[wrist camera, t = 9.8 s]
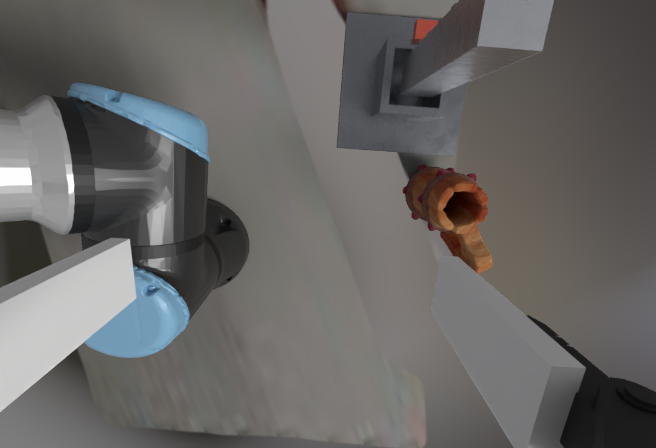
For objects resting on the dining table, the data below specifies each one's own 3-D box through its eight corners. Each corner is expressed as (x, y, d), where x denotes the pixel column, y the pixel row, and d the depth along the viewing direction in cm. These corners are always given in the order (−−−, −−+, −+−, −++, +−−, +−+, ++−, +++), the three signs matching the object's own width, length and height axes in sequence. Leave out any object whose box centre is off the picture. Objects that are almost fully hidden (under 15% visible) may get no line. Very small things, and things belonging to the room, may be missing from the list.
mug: (391, 173, 48) (419, 187, 34) (440, 152, 47) (491, 157, 33) (421, 252, 52) (458, 296, 37) (467, 234, 51) (523, 271, 37)
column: (399, 94, 38) (477, 45, 18) (404, 53, 36) (493, -46, 17) (431, 97, 38) (542, 51, 18) (437, 56, 36) (562, -40, 17)
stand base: (336, 147, 47) (339, 149, 38) (346, 14, 42) (351, -18, 34) (451, 155, 48) (479, 159, 39) (473, 25, 43) (511, -4, 34)
